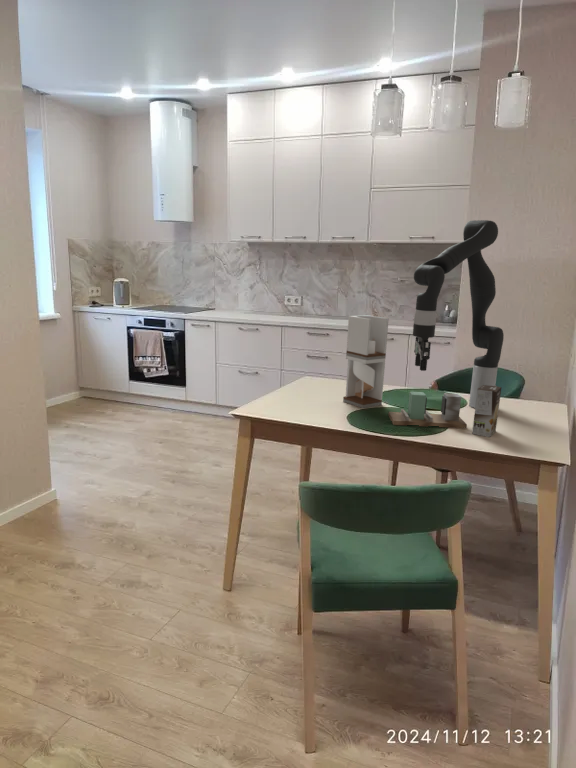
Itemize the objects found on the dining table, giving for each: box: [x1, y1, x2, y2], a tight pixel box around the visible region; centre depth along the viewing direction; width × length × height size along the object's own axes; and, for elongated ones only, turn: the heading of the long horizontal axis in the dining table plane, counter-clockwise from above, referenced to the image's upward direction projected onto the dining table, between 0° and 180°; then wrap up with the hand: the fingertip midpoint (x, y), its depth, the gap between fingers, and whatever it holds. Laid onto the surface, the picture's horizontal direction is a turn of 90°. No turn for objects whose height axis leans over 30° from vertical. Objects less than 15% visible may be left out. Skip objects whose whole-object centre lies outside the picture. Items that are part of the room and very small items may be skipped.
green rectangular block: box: [407, 391, 428, 419], centre depth 203 cm, size 6×5×9 cm
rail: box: [387, 392, 468, 429], centre depth 203 cm, size 26×12×10 cm, turn 89°
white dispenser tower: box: [342, 315, 390, 409], centre depth 223 cm, size 11×11×35 cm
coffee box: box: [471, 385, 502, 438], centre depth 193 cm, size 9×6×16 cm
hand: (420, 368), depth 200 cm, fingers open, 8 cm apart
